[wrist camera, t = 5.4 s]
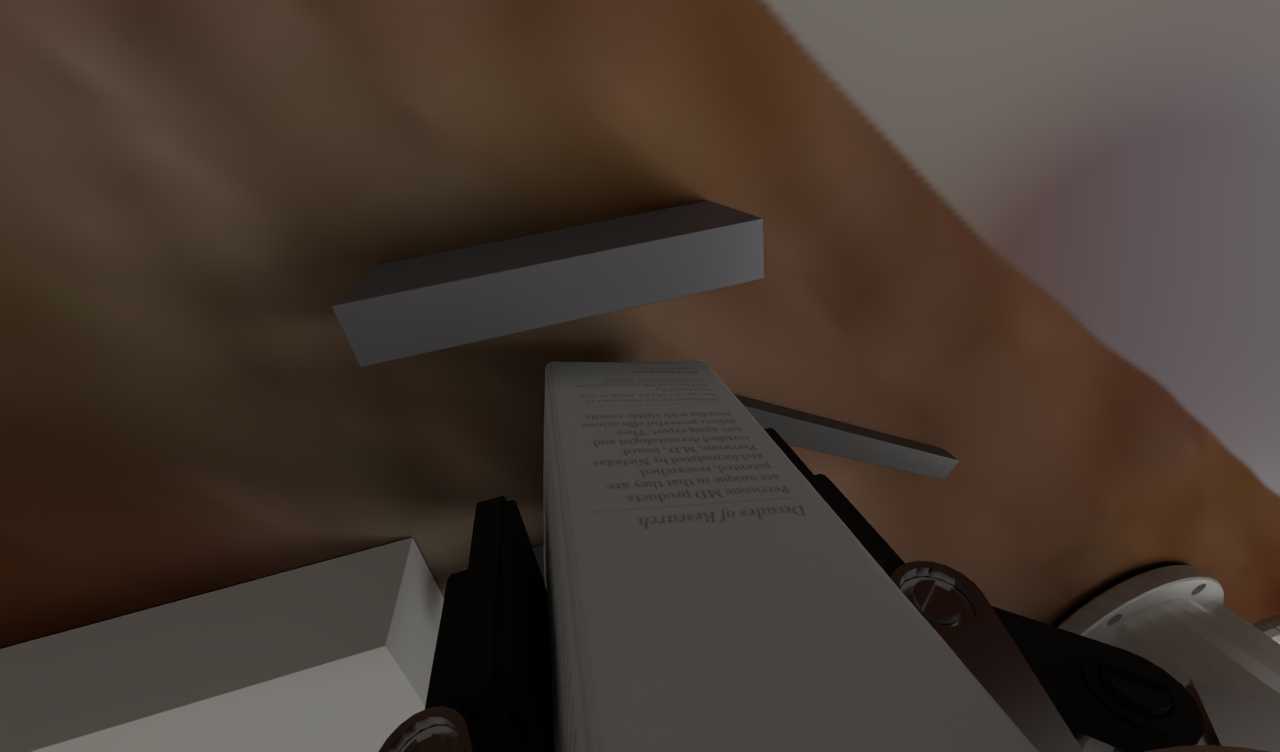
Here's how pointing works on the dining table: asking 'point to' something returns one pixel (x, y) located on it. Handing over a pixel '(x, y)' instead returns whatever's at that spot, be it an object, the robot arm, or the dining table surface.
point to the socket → (238, 666)
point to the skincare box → (723, 589)
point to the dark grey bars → (591, 304)
